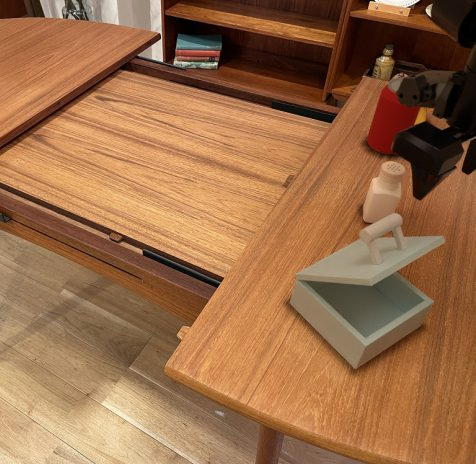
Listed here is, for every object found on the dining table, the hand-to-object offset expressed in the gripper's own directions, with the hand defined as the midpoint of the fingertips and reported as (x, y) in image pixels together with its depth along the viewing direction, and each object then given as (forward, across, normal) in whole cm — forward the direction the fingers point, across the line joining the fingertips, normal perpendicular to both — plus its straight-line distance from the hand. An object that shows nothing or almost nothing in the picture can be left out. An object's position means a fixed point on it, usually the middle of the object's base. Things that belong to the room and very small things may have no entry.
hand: (441, 185), depth 64 cm
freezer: (+13, +14, +3) cm, 20 cm away
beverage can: (+13, -18, -20) cm, 30 cm away
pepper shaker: (+13, -2, -8) cm, 16 cm away
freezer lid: (+4, +14, +2) cm, 15 cm away
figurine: (+13, -31, -25) cm, 42 cm away
